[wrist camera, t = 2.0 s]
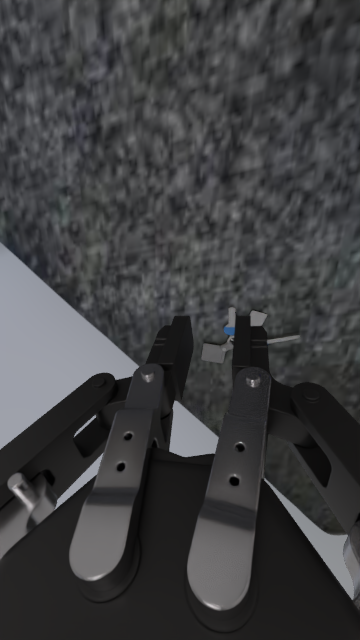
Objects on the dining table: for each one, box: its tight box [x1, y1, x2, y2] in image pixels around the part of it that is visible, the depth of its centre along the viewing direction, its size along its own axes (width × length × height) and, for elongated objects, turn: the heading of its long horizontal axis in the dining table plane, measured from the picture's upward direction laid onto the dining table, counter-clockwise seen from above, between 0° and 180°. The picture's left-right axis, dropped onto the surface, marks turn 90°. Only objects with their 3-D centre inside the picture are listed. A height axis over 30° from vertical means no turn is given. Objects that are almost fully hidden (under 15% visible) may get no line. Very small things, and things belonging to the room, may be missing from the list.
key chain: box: [201, 307, 300, 363], centre depth 40 cm, size 14×8×1 cm, turn 124°
